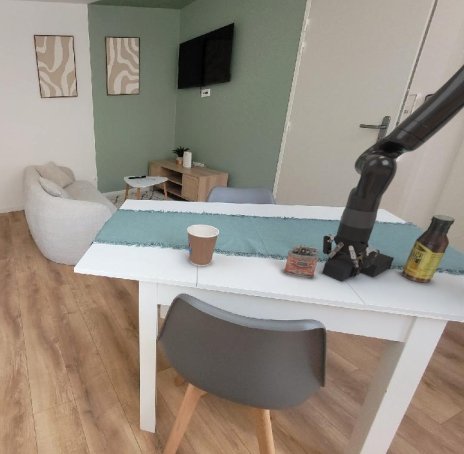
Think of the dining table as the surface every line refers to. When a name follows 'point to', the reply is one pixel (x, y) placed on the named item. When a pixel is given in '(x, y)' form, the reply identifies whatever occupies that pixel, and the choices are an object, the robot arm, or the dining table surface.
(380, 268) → the notch pad
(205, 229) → the coffee cup
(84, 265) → the dining table surface
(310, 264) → the lighter
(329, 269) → the pad
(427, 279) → the sauce bottle
